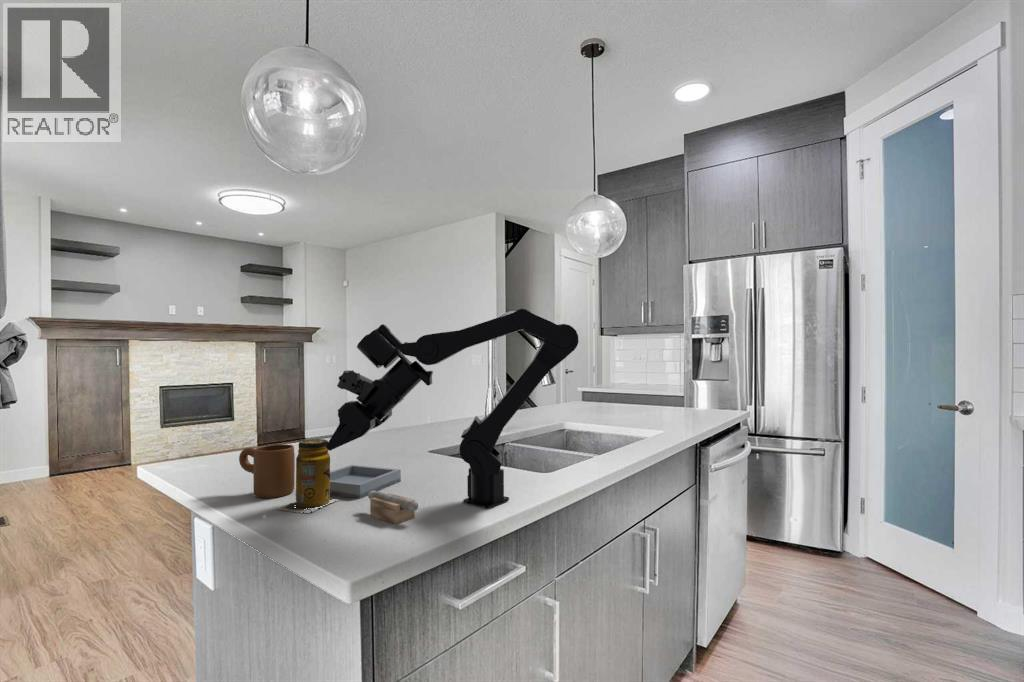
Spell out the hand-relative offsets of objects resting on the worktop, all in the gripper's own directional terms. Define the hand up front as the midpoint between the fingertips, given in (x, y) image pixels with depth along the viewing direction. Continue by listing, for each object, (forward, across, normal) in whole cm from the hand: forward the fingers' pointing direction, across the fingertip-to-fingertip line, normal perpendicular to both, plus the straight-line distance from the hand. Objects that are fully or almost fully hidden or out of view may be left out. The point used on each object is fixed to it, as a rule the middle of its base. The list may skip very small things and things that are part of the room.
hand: (336, 443), depth 93 cm
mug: (+20, -9, -4) cm, 23 cm away
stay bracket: (-1, +8, +17) cm, 18 cm away
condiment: (+12, 0, +5) cm, 13 cm away
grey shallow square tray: (+8, -13, +8) cm, 17 cm away
